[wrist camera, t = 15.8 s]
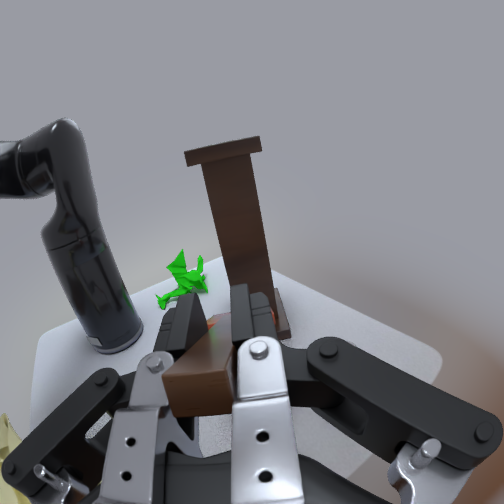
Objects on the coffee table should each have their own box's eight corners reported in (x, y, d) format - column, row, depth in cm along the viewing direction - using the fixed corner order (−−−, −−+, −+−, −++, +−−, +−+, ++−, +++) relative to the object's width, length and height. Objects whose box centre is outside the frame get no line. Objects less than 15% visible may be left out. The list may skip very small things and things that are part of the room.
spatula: (310, 400, 5) (303, 354, 6) (115, 417, 5) (101, 376, 6) (271, 313, 23) (268, 300, 23) (215, 323, 23) (212, 310, 23)
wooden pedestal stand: (291, 337, 33) (259, 135, 23) (236, 348, 33) (183, 151, 23) (278, 295, 42) (250, 137, 32) (233, 304, 42) (196, 148, 32)
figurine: (208, 316, 44) (161, 319, 46) (215, 264, 53) (173, 270, 55) (195, 294, 40) (144, 299, 42) (205, 241, 49) (160, 248, 50)
